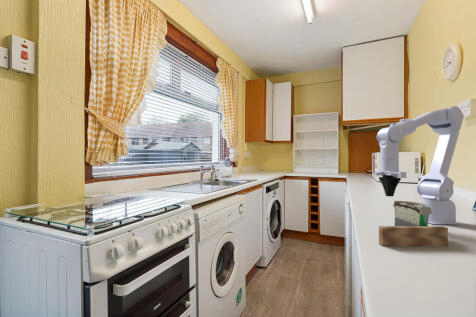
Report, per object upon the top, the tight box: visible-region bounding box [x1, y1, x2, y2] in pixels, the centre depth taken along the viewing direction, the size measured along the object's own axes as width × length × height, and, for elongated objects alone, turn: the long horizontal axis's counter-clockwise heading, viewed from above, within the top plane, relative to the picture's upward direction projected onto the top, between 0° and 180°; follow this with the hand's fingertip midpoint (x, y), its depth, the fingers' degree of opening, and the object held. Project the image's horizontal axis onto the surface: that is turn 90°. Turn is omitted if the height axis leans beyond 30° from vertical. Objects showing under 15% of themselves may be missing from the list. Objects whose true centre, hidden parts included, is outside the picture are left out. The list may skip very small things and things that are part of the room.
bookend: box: [394, 217, 419, 226], centre depth 70 cm, size 6×10×5 cm, turn 0°
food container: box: [392, 200, 432, 226], centre depth 72 cm, size 12×6×10 cm, turn 0°
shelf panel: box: [378, 225, 449, 247], centre depth 64 cm, size 18×2×5 cm, turn 90°
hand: (389, 196), depth 85 cm, fingers closed
